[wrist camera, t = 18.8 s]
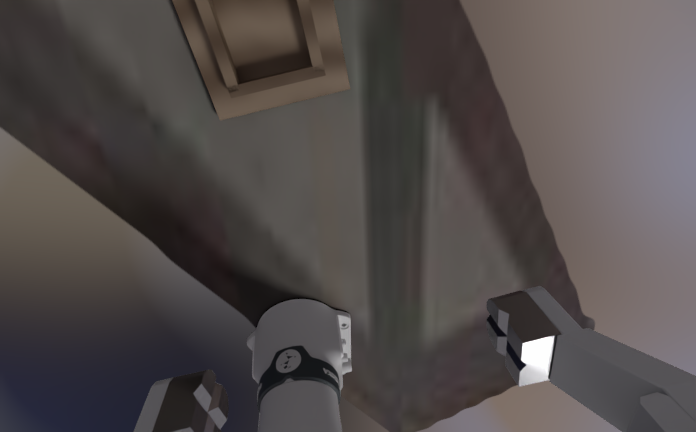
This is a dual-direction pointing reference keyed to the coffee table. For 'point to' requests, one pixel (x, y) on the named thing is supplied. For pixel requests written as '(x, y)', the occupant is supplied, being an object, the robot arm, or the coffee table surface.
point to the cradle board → (264, 51)
